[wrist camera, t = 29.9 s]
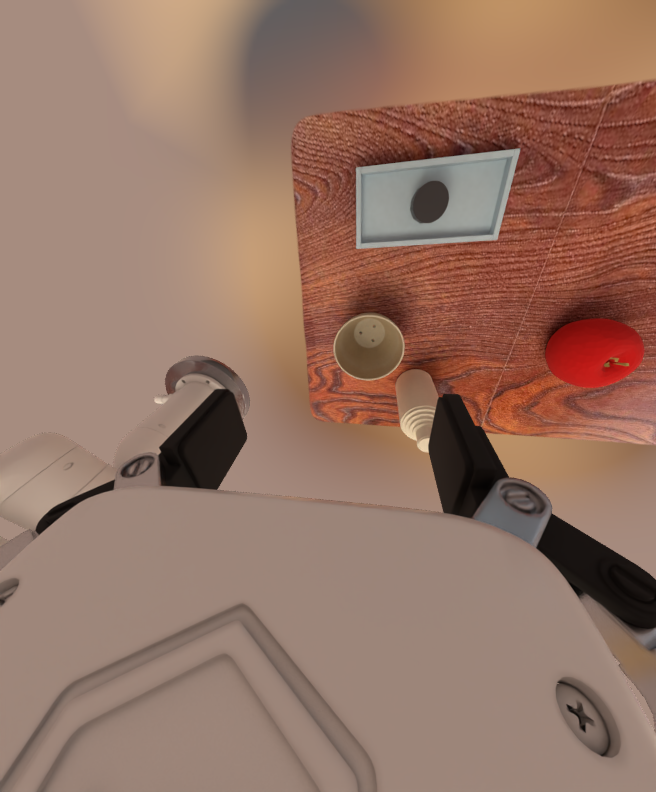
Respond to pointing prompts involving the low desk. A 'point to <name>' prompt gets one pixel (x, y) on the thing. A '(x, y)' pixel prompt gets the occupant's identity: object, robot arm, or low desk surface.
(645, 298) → the low desk surface
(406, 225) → the tray
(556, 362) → the fruit
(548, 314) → the low desk surface
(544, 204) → the low desk surface
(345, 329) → the flower pot
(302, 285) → the low desk surface
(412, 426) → the bottle
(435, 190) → the cap
